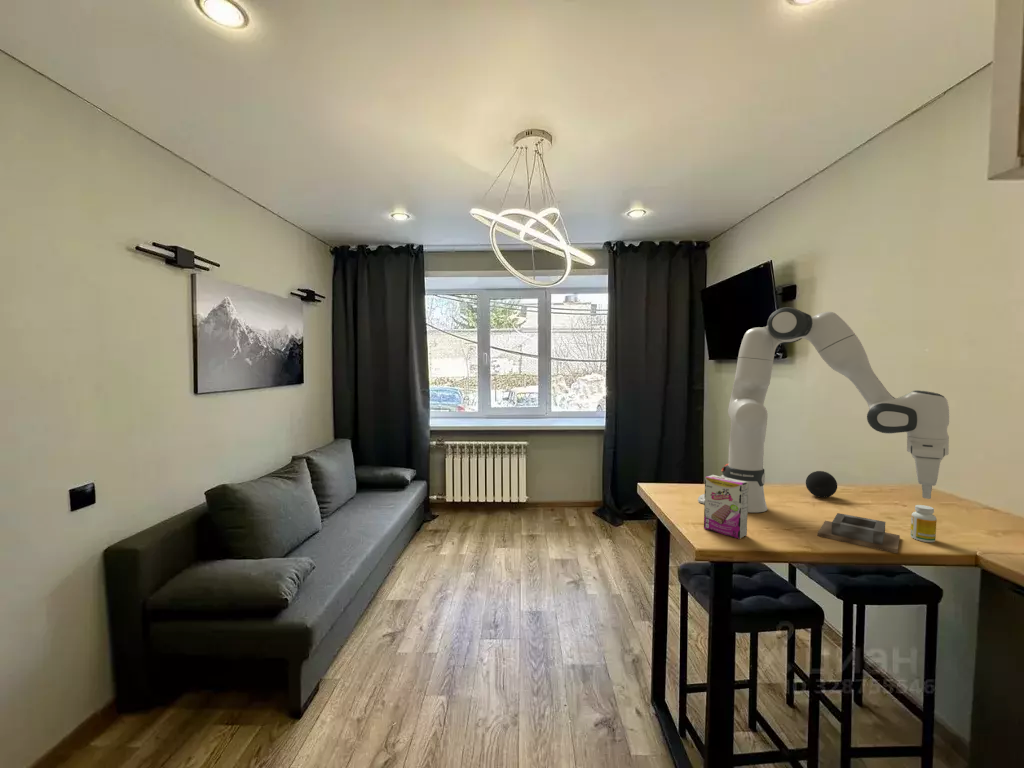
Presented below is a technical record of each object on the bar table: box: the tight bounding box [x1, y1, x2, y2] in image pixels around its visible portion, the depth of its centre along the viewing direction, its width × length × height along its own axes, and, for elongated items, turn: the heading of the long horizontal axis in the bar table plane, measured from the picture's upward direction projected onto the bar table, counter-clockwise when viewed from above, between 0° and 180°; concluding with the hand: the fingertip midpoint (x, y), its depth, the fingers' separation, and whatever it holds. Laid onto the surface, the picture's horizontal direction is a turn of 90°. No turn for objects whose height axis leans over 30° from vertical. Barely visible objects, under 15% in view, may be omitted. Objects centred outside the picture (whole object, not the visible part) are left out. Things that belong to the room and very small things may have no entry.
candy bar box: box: [703, 474, 749, 540], centre depth 135 cm, size 11×5×16 cm, turn 39°
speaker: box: [805, 470, 838, 499], centre depth 171 cm, size 10×10×10 cm
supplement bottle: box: [910, 504, 938, 543], centre depth 130 cm, size 5×5×10 cm
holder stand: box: [816, 512, 901, 554], centre depth 131 cm, size 18×14×4 cm
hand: (926, 494), depth 129 cm, fingers open, 8 cm apart
